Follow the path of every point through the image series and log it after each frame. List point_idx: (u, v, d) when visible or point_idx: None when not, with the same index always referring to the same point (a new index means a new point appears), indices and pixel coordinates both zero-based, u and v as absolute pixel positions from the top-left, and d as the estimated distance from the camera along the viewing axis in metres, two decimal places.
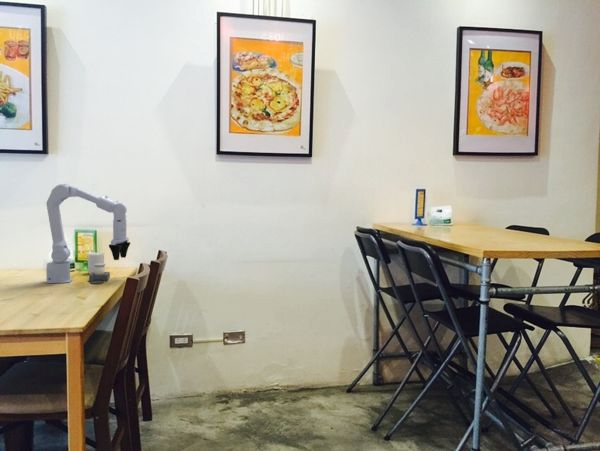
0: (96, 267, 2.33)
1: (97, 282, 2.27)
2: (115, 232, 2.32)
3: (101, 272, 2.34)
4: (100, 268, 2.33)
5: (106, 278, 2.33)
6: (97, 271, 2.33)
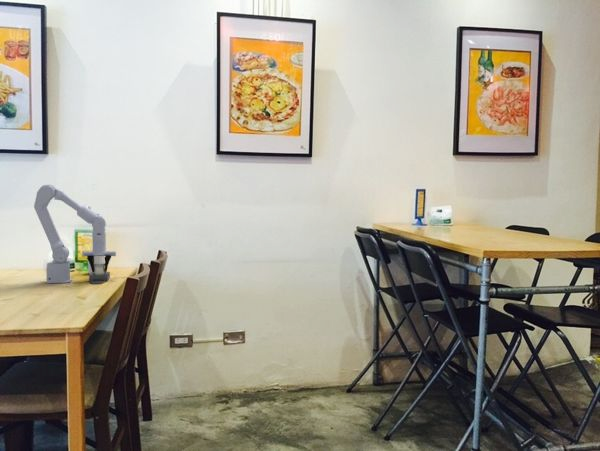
0: (96, 267, 2.33)
1: (97, 282, 2.27)
2: None
3: (101, 272, 2.34)
4: (100, 268, 2.33)
5: (106, 278, 2.33)
6: (97, 271, 2.33)
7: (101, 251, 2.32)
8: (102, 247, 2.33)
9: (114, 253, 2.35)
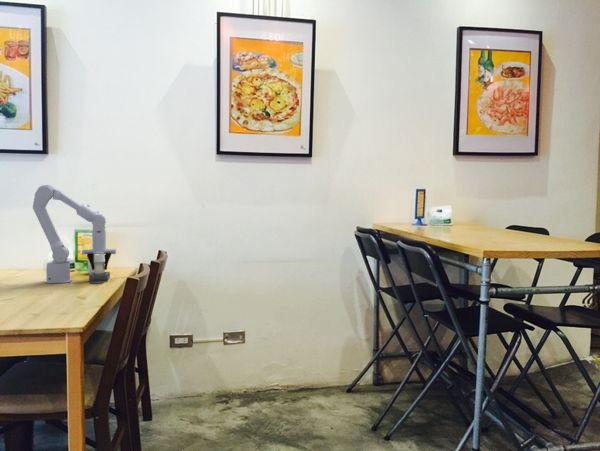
0: (96, 265, 2.33)
1: (97, 282, 2.27)
2: None
3: (101, 270, 2.34)
4: (100, 266, 2.33)
5: (106, 278, 2.33)
6: (97, 269, 2.33)
7: (101, 249, 2.32)
8: (102, 245, 2.33)
9: (114, 251, 2.35)
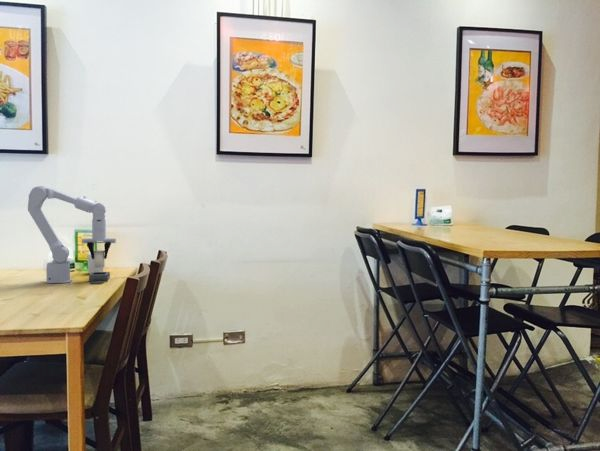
0: (96, 254, 2.33)
1: (97, 282, 2.27)
2: None
3: (101, 259, 2.33)
4: (100, 255, 2.33)
5: (106, 278, 2.33)
6: (97, 258, 2.33)
7: (101, 238, 2.32)
8: (102, 234, 2.32)
9: (114, 240, 2.35)
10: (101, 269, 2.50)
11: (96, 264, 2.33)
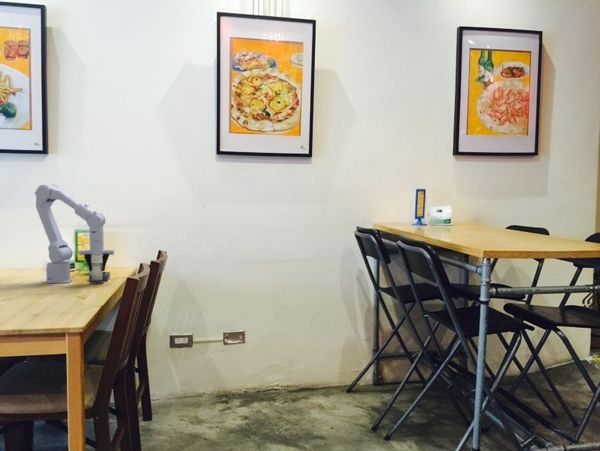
0: (94, 266, 2.26)
1: (97, 282, 2.27)
2: None
3: (99, 271, 2.27)
4: (98, 267, 2.26)
5: (106, 278, 2.33)
6: (95, 270, 2.26)
7: (99, 250, 2.25)
8: (100, 245, 2.25)
9: (112, 252, 2.28)
10: None
11: (94, 277, 2.26)
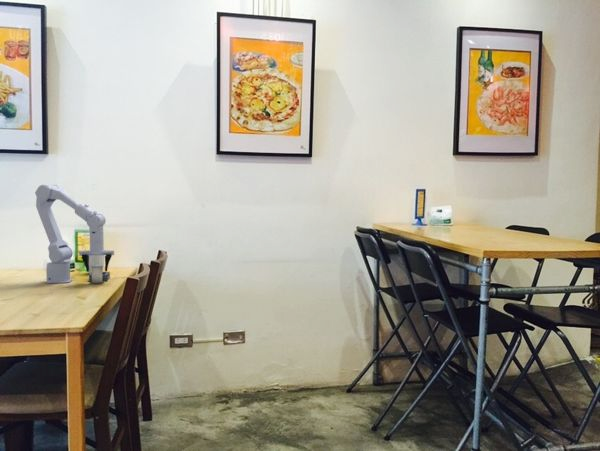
0: (93, 269, 2.26)
1: None
2: None
3: (99, 274, 2.27)
4: (98, 270, 2.26)
5: (106, 278, 2.33)
6: (95, 273, 2.26)
7: (99, 250, 2.25)
8: (100, 246, 2.25)
9: (112, 252, 2.28)
10: None
11: (94, 279, 2.26)
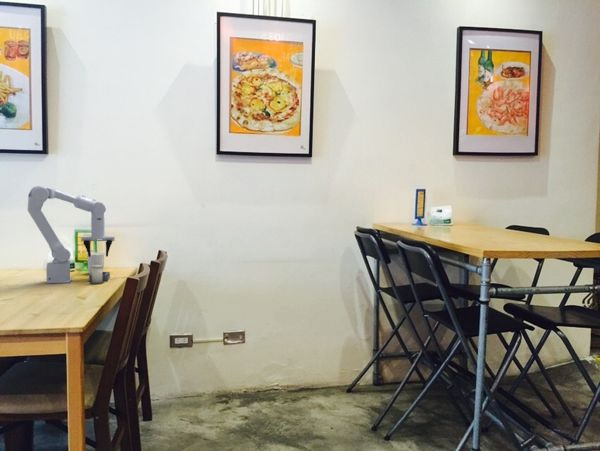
0: (94, 269, 2.26)
1: None
2: None
3: (99, 274, 2.27)
4: (98, 270, 2.26)
5: (106, 278, 2.33)
6: (95, 273, 2.26)
7: (100, 236, 2.35)
8: (101, 232, 2.36)
9: (113, 238, 2.38)
10: None
11: (94, 279, 2.26)
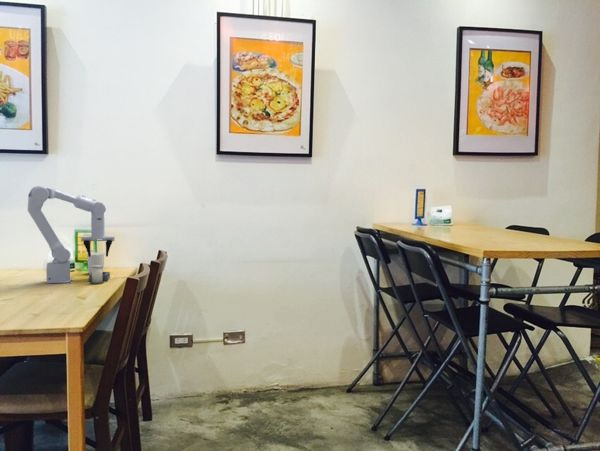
0: (94, 269, 2.26)
1: None
2: None
3: (99, 274, 2.27)
4: (98, 270, 2.26)
5: (106, 278, 2.33)
6: (95, 273, 2.26)
7: (100, 236, 2.35)
8: (101, 232, 2.36)
9: (113, 238, 2.38)
10: None
11: (94, 279, 2.26)
